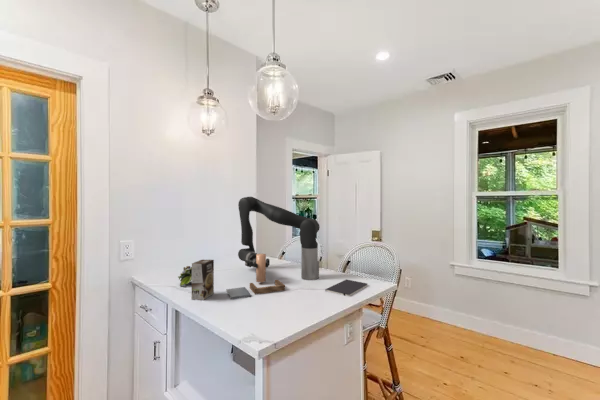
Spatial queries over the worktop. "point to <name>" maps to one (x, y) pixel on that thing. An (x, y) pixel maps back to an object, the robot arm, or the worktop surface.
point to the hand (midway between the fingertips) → (262, 265)
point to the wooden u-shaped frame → (268, 288)
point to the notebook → (346, 287)
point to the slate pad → (238, 293)
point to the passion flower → (186, 275)
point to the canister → (261, 268)
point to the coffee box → (202, 279)
